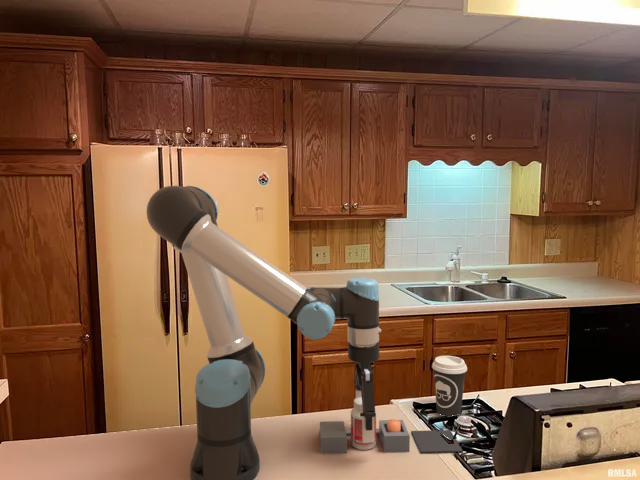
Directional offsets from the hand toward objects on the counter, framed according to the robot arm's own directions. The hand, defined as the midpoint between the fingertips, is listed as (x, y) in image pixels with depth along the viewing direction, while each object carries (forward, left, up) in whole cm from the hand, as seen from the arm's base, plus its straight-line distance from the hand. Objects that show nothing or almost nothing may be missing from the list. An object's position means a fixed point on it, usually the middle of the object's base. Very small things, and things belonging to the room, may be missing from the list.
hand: (364, 427), depth 117 cm
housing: (0, +1, -4) cm, 4 cm away
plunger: (+7, 0, -4) cm, 8 cm away
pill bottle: (0, 0, -5) cm, 5 cm away
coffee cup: (+26, +16, -4) cm, 31 cm away
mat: (+18, 0, -4) cm, 18 cm away
